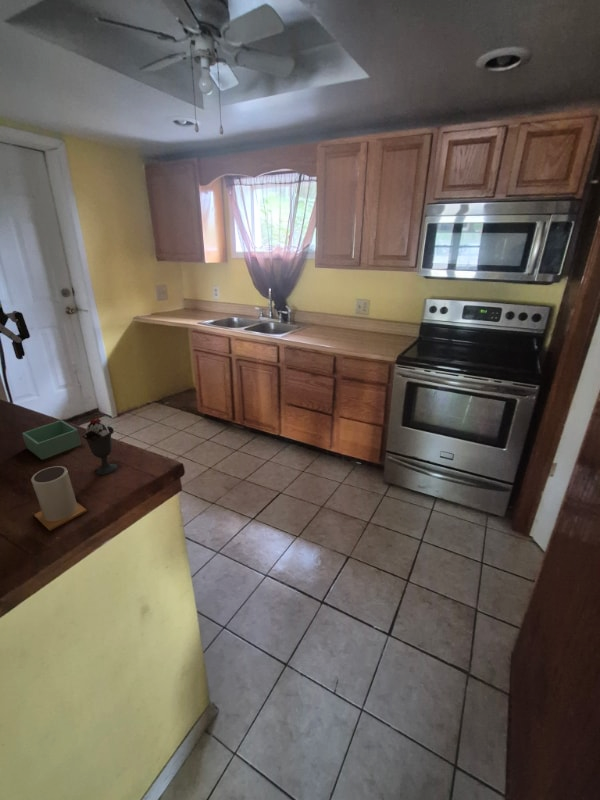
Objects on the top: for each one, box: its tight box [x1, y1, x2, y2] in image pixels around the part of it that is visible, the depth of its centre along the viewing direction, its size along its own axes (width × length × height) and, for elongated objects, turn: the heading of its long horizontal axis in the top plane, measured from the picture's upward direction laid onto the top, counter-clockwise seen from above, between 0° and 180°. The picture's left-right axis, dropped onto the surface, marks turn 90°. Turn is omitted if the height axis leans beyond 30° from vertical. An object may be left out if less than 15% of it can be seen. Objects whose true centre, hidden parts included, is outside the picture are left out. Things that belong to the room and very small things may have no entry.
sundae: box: [81, 409, 118, 476], centre depth 87 cm, size 7×7×15 cm
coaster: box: [33, 502, 88, 532], centre depth 75 cm, size 7×7×1 cm
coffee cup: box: [30, 465, 78, 522], centre depth 74 cm, size 6×6×9 cm
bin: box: [21, 419, 82, 461], centre depth 98 cm, size 10×10×5 cm
